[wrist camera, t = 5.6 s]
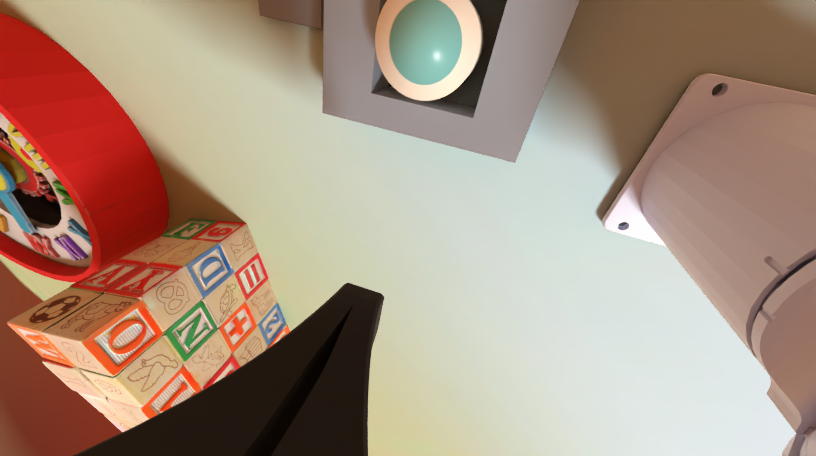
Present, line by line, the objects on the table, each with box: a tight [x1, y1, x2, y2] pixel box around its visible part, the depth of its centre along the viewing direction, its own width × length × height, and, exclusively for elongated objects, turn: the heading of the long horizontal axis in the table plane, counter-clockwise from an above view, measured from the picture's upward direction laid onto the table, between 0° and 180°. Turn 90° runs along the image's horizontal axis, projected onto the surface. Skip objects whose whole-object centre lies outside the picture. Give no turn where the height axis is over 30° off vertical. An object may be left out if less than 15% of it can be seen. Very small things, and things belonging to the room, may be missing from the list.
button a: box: [375, 0, 484, 101], centre depth 13 cm, size 4×4×4 cm
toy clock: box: [0, 13, 169, 282], centre depth 24 cm, size 20×6×20 cm
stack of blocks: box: [7, 219, 290, 432], centre depth 26 cm, size 21×6×12 cm, turn 4°
